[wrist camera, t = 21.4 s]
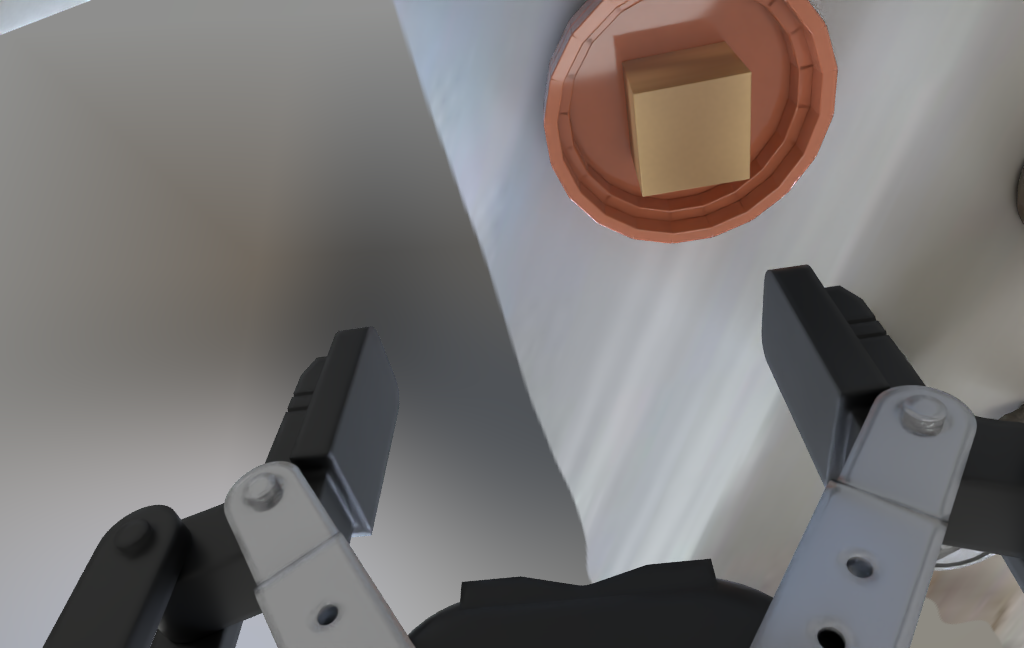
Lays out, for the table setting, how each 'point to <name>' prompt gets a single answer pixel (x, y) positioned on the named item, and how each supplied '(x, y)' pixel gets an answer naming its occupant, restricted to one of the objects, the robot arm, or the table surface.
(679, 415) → the table surface
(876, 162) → the table surface
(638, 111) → the block
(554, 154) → the plate
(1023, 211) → the pillar candle
